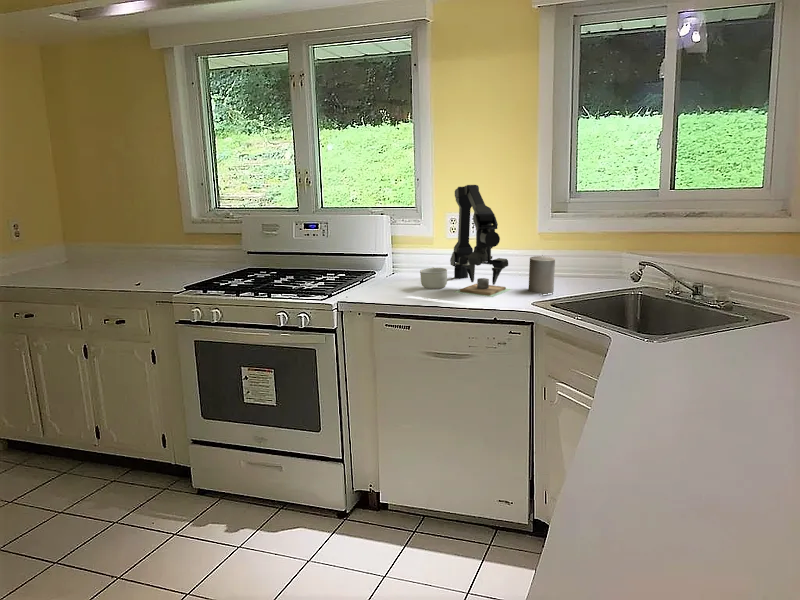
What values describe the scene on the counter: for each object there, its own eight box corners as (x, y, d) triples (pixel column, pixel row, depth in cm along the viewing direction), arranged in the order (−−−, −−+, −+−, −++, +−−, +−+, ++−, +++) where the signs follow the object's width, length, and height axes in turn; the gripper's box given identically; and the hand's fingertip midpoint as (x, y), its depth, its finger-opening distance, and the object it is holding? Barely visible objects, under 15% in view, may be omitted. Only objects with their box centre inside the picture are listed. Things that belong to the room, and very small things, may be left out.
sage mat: (474, 287, 279) (474, 284, 279) (512, 291, 270) (512, 289, 269) (452, 294, 266) (452, 292, 265) (492, 299, 256) (492, 297, 256)
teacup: (445, 292, 270) (445, 272, 268) (417, 291, 272) (417, 271, 270) (449, 285, 283) (449, 266, 282) (423, 284, 285) (423, 265, 284)
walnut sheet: (476, 286, 276) (476, 274, 275) (505, 289, 269) (505, 278, 268) (460, 291, 266) (460, 280, 265) (490, 295, 259) (490, 283, 258)
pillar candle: (523, 291, 269) (524, 253, 266) (544, 289, 273) (546, 252, 269) (537, 296, 261) (538, 257, 257) (559, 294, 264) (560, 255, 261)
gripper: (451, 244, 262) (451, 284, 266) (495, 247, 252) (495, 289, 255) (466, 240, 271) (465, 279, 275) (509, 244, 261) (508, 284, 264)
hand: (482, 283), depth 267 cm, fingers open, 9 cm apart
